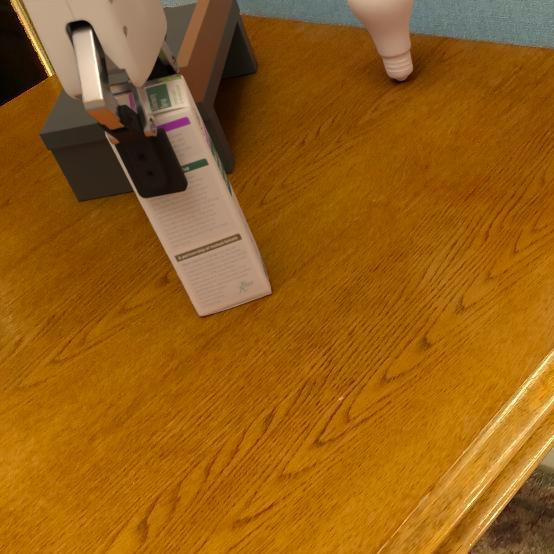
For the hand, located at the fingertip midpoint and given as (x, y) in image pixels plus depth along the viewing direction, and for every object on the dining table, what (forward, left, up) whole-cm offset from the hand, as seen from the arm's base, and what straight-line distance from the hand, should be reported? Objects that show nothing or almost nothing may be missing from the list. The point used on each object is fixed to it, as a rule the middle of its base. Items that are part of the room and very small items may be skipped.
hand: (173, 162), depth 67 cm
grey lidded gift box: (-9, +29, -10) cm, 32 cm away
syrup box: (0, 0, -10) cm, 10 cm away
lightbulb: (+13, +30, -10) cm, 34 cm away
